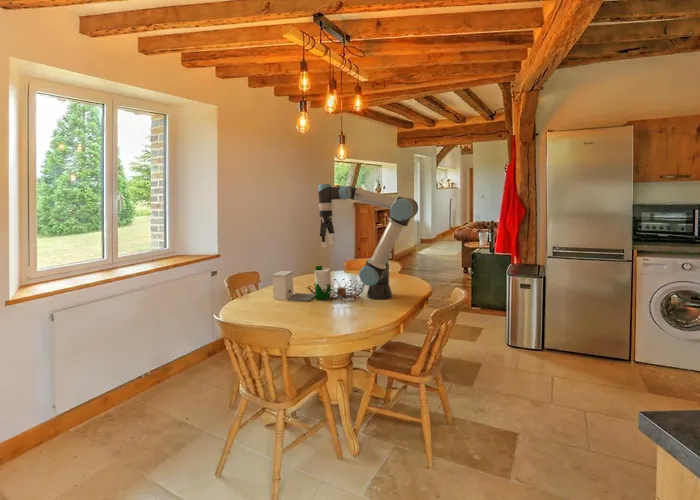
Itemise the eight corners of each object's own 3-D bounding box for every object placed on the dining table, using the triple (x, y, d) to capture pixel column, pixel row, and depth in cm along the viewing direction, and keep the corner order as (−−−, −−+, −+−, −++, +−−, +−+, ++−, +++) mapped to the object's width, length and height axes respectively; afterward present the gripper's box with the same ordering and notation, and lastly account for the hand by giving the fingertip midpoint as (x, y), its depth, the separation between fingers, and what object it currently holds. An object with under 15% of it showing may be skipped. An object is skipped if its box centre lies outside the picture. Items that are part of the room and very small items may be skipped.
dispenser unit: (294, 294, 276) (293, 271, 274) (286, 299, 264) (285, 275, 262) (281, 294, 279) (280, 270, 276) (272, 299, 267) (271, 274, 264)
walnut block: (345, 295, 274) (345, 287, 273) (345, 297, 269) (345, 289, 268) (337, 295, 274) (337, 287, 273) (337, 297, 269) (337, 289, 268)
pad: (317, 295, 273) (317, 294, 273) (309, 301, 259) (309, 300, 259) (296, 294, 277) (296, 293, 276) (287, 300, 263) (287, 298, 263)
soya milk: (317, 296, 271) (317, 264, 268) (332, 297, 269) (331, 265, 266) (313, 300, 262) (313, 267, 259) (328, 301, 260) (327, 267, 257)
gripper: (326, 209, 273) (328, 243, 276) (312, 211, 249) (315, 248, 252) (337, 208, 271) (339, 242, 274) (325, 211, 247) (327, 248, 250)
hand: (327, 245), depth 263 cm, fingers open, 13 cm apart
